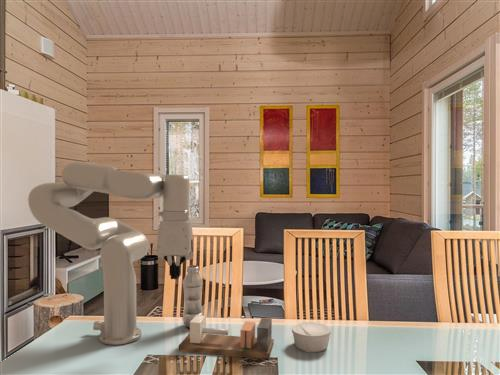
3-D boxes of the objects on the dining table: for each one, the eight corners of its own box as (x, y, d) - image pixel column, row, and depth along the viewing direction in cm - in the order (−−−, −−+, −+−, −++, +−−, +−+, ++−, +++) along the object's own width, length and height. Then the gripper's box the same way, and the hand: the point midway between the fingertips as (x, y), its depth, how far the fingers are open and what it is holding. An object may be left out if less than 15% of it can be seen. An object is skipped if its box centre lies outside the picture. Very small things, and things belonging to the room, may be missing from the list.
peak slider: (239, 349, 115) (239, 331, 115) (245, 337, 123) (245, 321, 123) (250, 350, 115) (250, 332, 114) (255, 338, 123) (255, 322, 123)
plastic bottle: (199, 330, 134) (199, 269, 133) (179, 329, 135) (179, 268, 134) (205, 323, 140) (205, 264, 139) (186, 322, 141) (186, 263, 141)
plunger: (189, 342, 120) (189, 322, 120) (196, 334, 126) (196, 315, 125) (225, 345, 118) (225, 324, 118) (230, 337, 124) (230, 317, 124)
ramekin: (284, 346, 122) (284, 328, 122) (306, 335, 130) (306, 319, 130) (316, 358, 115) (316, 339, 114) (337, 346, 123) (337, 328, 123)
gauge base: (178, 350, 118) (178, 323, 118) (189, 337, 128) (189, 311, 128) (268, 358, 114) (269, 330, 113) (273, 344, 123) (273, 317, 123)
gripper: (146, 216, 120) (146, 279, 121) (196, 218, 117) (195, 283, 118) (157, 214, 128) (156, 273, 128) (204, 216, 125) (203, 276, 125)
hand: (175, 278), depth 123 cm, fingers closed
